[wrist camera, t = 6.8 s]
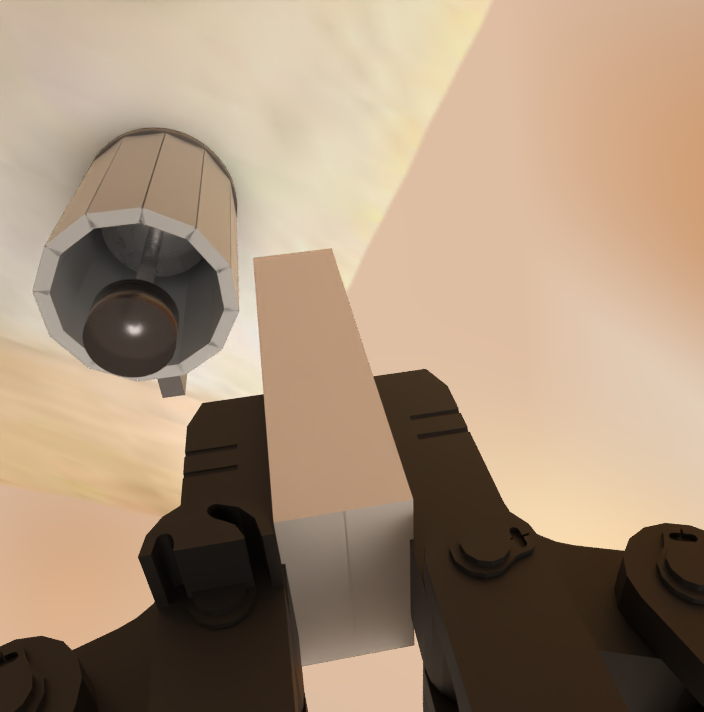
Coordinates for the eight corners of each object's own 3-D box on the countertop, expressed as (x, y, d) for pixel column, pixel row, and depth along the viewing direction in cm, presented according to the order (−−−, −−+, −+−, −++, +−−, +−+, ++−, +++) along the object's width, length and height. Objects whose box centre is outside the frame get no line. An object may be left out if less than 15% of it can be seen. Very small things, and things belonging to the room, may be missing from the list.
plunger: (89, 178, 42) (29, 285, 29) (200, 166, 42) (188, 265, 30) (118, 277, 46) (77, 408, 33) (219, 265, 46) (216, 388, 34)
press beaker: (65, 136, 44) (0, 219, 31) (223, 120, 45) (221, 194, 32) (117, 305, 51) (81, 428, 39) (251, 288, 52) (259, 401, 40)
